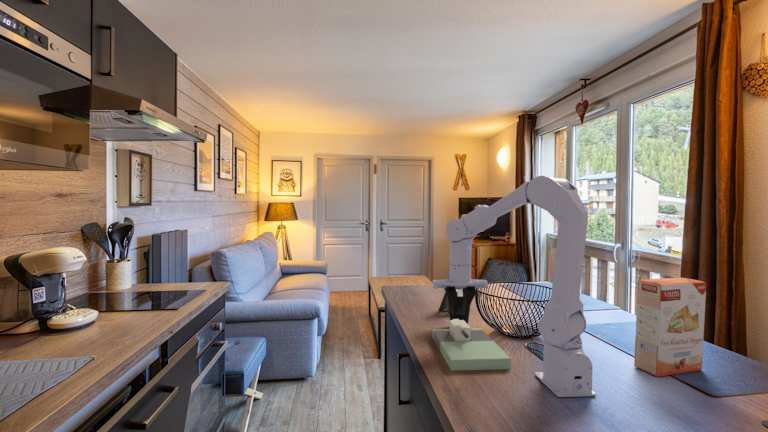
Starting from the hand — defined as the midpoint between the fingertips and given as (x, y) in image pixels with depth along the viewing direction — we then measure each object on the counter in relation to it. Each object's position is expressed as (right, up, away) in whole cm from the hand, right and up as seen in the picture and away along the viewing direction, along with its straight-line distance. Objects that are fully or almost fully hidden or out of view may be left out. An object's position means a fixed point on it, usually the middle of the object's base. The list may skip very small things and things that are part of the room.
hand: (459, 314), depth 93 cm
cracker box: (+46, -9, -12) cm, 49 cm away
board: (+1, -9, -4) cm, 9 cm away
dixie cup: (+3, -8, +14) cm, 17 cm away
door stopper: (+5, -8, +32) cm, 33 cm away
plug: (0, -8, -1) cm, 9 cm away
